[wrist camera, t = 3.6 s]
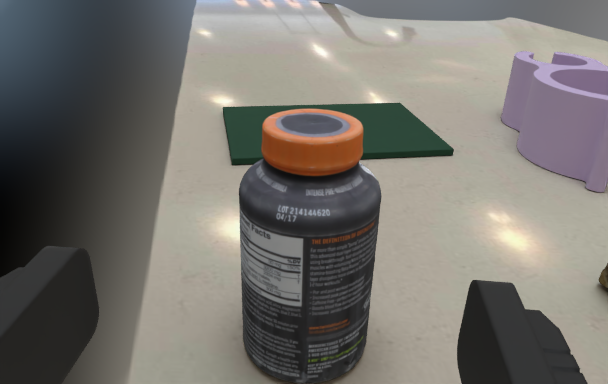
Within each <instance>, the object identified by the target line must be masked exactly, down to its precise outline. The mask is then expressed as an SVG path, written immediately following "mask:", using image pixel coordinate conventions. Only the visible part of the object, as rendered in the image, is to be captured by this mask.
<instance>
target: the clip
mask: <svg viewBox="0 0 608 384" xmlns="http://www.w3.org/2000/svg"><path fill="white" fill-rule="evenodd" d="M533 55H534V53H532V52H527V51H521V52H517V53H515V56H514V60H513V65H512V70H511V74H510V79H509V83H508V88H507V93H506V97H505V102H504V106H503V111H502V116H501V120H502V122H503V123H505V124H506V125H508V126H509V127H511V128H514V129H516V130H518V131H519V132H520V133H519V138H518V142H517V149H518V151H519V152H520V153H521V154H522V155H523V156H524V157H525V158H527V159H528V160H529V161H531V162H533V163H535V164H536V165H538V166H540V167H543V168H545V169H547V170H550V171H552V172H555V173H558V174H561V175H564V176H568V177H571V178H575V179H579V180H583V181H585V182H586V186H585V187H586V188H587V189H589V190H592V191H596V192H604V190H605V187H606V184H607V181H608V66H605V65H603V64H602V63H601V62H599V61H597V60H595V59H592V58H588V57H584V56H580V55H575V54H569V53H562V52H554V55H553V59H552V63H551V64H550V63H544V62H540V61H536V60H533Z"/></svg>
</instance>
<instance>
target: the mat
mask: <svg viewBox="0 0 608 384" xmlns="http://www.w3.org/2000/svg"><path fill="white" fill-rule="evenodd" d="M295 109H323V110H332V111H337V112H341V113H345V114H347V115H350V116H352V117H354V118H356V119H357V120H359V121H360V122H361V124H362V126H363V155H362V157H361V159H375V158H398V157H421V156H443V155H453V151H454V149H453V148H452V147H451V146H449V145H448V144H447V143H446V142H445V141H444V140H442V139H441V138H440V137H439V136H438V135H437V134H435V133H434V132H433V131H432V130H431V129H430V128H428V127H427V126H426V125H425V124H424V123H423V122H421V121H420V120H419V119H418V118H417V117H416V116H415V115H413V114H412V113H411V112H410V111H409V110H408V109H406V108H405V107H404V106H403V105H402V104H401V103H374V104H332V105H291V106H249V107H223V115H224V120H225V126H226V132H227V138H228V144H229V150H230V156H231V161H232V165H240V164H255V163H256V162H258V161H260V160H261V159H263V154H262V150H261V147H262V126H263V123H264V121H265V119H266V118H268V117H269V116H271V115H273V114H276V113H278V112H282V111H288V110H295Z"/></svg>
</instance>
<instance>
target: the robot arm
mask: <svg viewBox="0 0 608 384" xmlns="http://www.w3.org/2000/svg"><path fill="white" fill-rule="evenodd" d="M98 317H99V306H98V300H97V294H96V289H95V283H94V278H93V273H92V267H91V262H90V257H89V254H88V252H87V251H86V250H85V249H81V248H69V247H55V246H47V247H45V248H43V249H42V250H41V251H40V252H39V253H38V254H37V255H36V256H35V257H34V258H33V259H32V260H31V261H30V263H28V264H27V265H26V266H25V268H20V267H19V268H17V269H16V270H14V271H12V272H10V273H9V274H7V275H5V276H3V277H1V278H0V384H62V382H63V381H64V379H65V378H66V376H67V375H68V373H69V372H70V370H71V368H72V367H73V365H74V364H75V362H76V361H77V359H78V358H79V356H80V355H81V353H82V351H83V350H84V348H85V347H86V346H87V344H88V343H89V341H90V339H91V338H92V336H93V334H94V332H95V330H96V327H97V323H98ZM457 360H458V369H459V374H460V378H461V382H462V384H587V382H586V380H585V378H584V376H583V374H582V373H580V368H579V366H578V364H577V362H576V360H575V358H574V356H573V355H571V354H570V349H569V347H568V345H567V343H566V341H565V339H564V337H563V335H562V333H561V331H560V329H559V328H558V327H556V326H555V325H554V324H553V323H552V322H551V321H550V320H549V319H548V318H547V317H546V316H545V315H544V314H543V313H542V312H541V311H539V310H526V309H525V308H524V306H523V304H522V302H521V299H520V297H519V295H518V293H517V290H516V288H515V286H514V285H513V284H512V283H507V282H494V281H481V280H473V281H472V282H471V284H470V287H469V291H468V296H467V300H466V305H465V310H464V314H463V319H462V324H461V328H460V333H459V338H458V346H457Z"/></svg>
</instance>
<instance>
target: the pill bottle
mask: <svg viewBox="0 0 608 384" xmlns="http://www.w3.org/2000/svg"><path fill="white" fill-rule="evenodd" d="M261 150H262V154H263V159H261V160H260V161H258V162H256V163H255V164H254V165H253V166H251V167H250V168H249V169H248V171H247V172H246V173H245V175H244V176H243V178H242V181H241V183H240V188H239V204H240V242H241V276H242V314H243V341H244V346H245V349H246V351H247V353H248V355H249V357H250V358H251V359H252V361H253V362H254V363H255V364H256V365H257V366H258V367H259V368H260V369H261V370H263V371H264V372H266V373H268V374H270V375H271V376H274V377H276V378H279V379H281V380H285V381H289V382H295V383H318V382H323V381H328V380H331V379H334V378H336V377H339V376H341V375H343V374H344V373H346V372H347V371H349V370H350V369H352V368H353V367H354V366H355V364H356V363H357V362H358V360H359V359H360V358H361V356H362V353H363V351H364V348H365V345H366V336H367V327H368V318H369V308H370V297H371V288H372V279H373V270H374V262H375V251H376V241H377V233H378V223H379V212H380V203H381V190H380V186H379V182H378V181H377V179H376V178H375V176H374V175H373V174H372V172H371V171H370V170H369V169H368V168H366V167H365V166H364V165H362V164H361V163H359V160H360V159H361V157H362V155H363V126H362V124H361V122H360V121H359V120H357V119H356V118H354V117H352V116H350V115H347V114H345V113H341V112H337V111H332V110H323V109H295V110H288V111H282V112H278V113H276V114H273V115H271V116H269V117H268V118H266V119H265V121H264V123H263V126H262V147H261Z"/></svg>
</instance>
